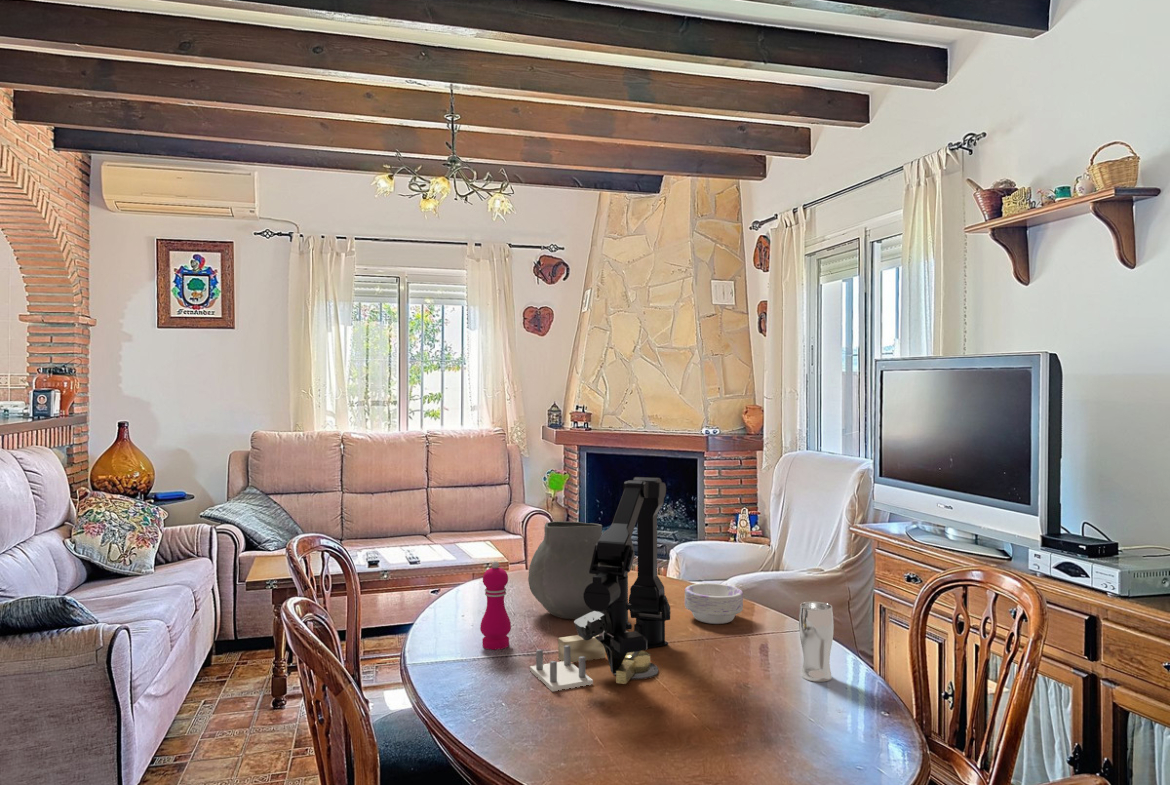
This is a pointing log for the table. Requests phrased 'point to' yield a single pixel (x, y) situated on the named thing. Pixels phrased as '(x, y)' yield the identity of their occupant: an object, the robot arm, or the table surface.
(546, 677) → the peg rack
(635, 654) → the brass lever handle
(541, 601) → the ceramic pot
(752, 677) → the table surface
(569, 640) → the beech bar
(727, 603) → the paper bowls
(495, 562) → the pepper mill
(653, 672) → the base
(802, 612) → the beer glass
